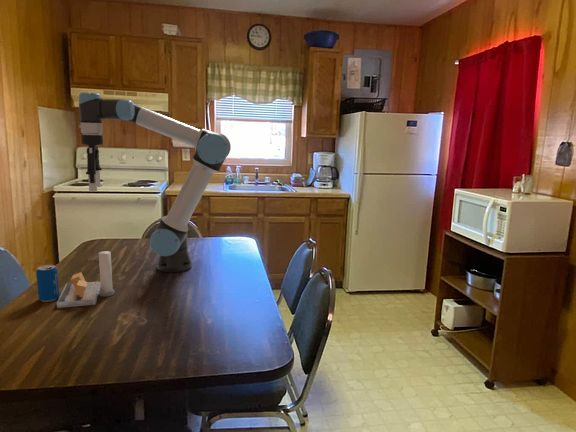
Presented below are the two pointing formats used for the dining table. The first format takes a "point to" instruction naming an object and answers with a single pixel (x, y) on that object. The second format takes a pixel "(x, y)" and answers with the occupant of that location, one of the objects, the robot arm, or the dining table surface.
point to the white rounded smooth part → (105, 274)
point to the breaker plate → (87, 299)
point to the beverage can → (47, 283)
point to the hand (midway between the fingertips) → (95, 189)
